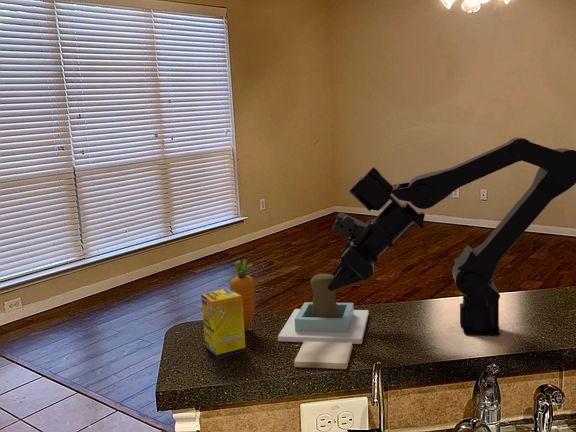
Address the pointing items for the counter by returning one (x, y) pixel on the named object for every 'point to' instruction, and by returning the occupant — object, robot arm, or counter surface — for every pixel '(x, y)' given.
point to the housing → (325, 325)
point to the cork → (323, 297)
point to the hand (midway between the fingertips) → (331, 282)
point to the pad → (324, 355)
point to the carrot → (245, 291)
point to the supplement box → (223, 322)
